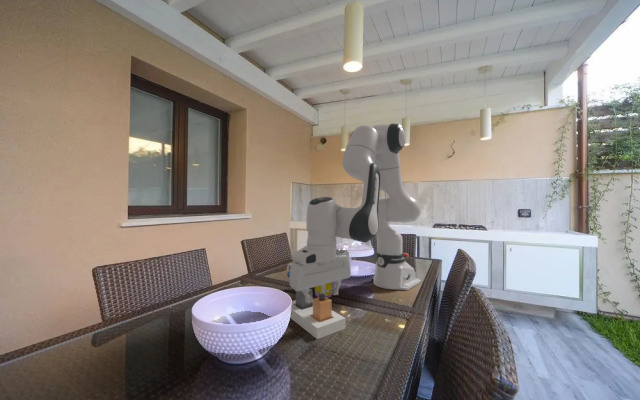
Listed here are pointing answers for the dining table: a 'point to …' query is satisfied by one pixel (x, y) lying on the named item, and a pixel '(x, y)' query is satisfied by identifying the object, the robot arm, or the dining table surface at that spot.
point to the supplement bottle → (324, 290)
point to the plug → (322, 308)
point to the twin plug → (303, 300)
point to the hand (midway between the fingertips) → (322, 298)
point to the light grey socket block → (315, 327)
